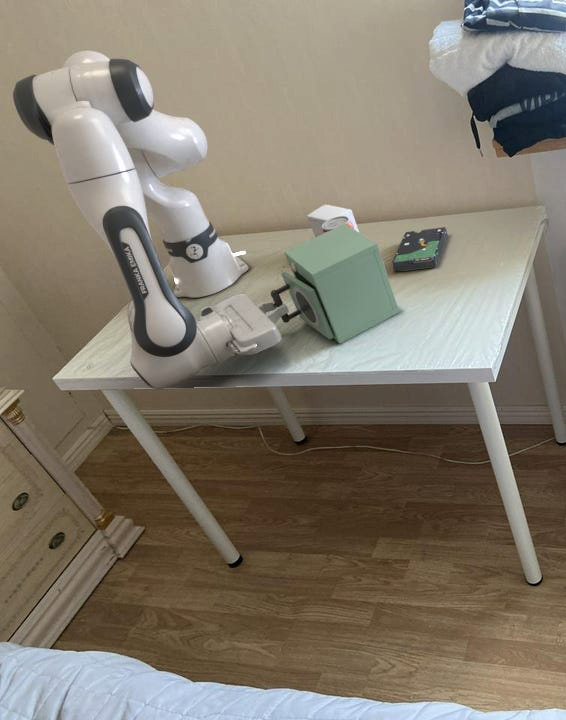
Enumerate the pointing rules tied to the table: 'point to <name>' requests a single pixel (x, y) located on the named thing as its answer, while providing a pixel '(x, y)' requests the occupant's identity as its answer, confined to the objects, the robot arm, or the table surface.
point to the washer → (345, 280)
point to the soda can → (336, 223)
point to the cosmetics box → (328, 217)
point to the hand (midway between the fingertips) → (283, 304)
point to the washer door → (303, 304)
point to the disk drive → (420, 249)
